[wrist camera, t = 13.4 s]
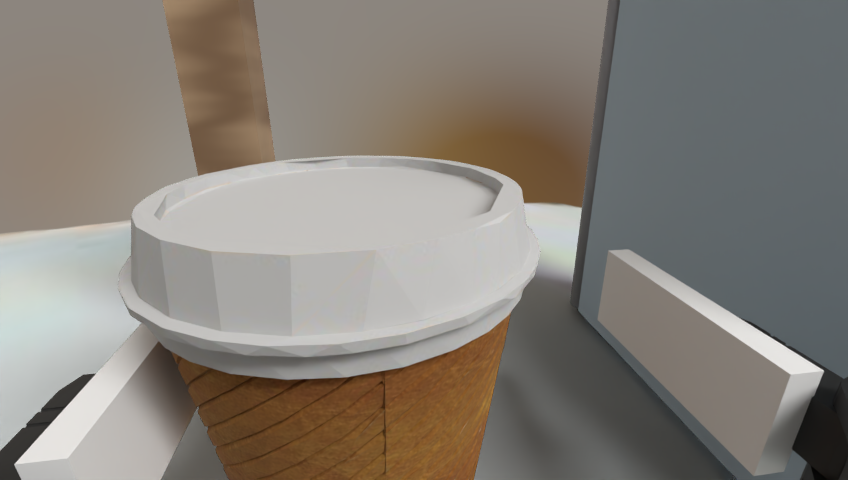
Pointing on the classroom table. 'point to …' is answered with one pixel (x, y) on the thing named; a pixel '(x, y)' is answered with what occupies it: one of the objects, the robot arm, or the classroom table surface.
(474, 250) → the disposable coffee cup
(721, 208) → the door
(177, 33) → the door frame
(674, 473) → the classroom table surface
